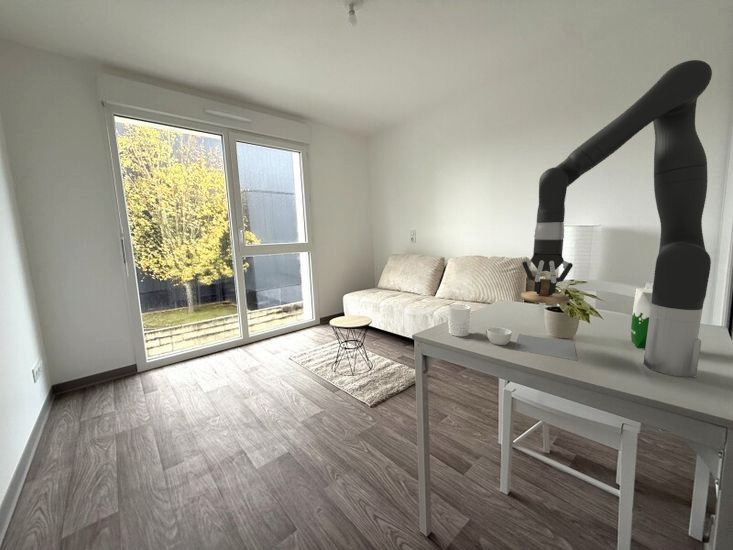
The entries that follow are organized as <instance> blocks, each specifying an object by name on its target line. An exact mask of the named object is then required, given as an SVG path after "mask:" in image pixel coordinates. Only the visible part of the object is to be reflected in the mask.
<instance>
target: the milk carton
mask: <svg viewBox="0 0 733 550" xmlns="http://www.w3.org/2000/svg"><path fill="white" fill-rule="evenodd" d="M652 290H653V288H650V287H649V288H648V287H647V288H643V287H642V288H640V287H636V289H635V295H634V301H633V307H632V315H631V316H632V317H631V324H630V325H631V326H630V333H631V342H632V344H633V345H634V344H635V345H634V346H635V347H636V348H637V349H641V348H645V347H646V340H647V332H648V324H649V317H650V309H651V300H652Z"/></svg>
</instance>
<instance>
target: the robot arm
mask: <svg viewBox="0 0 733 550" xmlns="http://www.w3.org/2000/svg"><path fill="white" fill-rule="evenodd" d="M712 76H713V70H712V67H711V65H710V64H709V63H707V62H705V61H703V60H700V59H699V60H698V59H695V60H694V59H693V60H692V59H691V60H687V61H683V62H681V63H678V64H676V65H674V66H673V67H671V68H670V69H668V70H667V71H666V72H665V73H664V74H662V76H661V77H660V78H659V79H658V80H657V82H655V83H654V84H653V85H652V86H651V87H650V88H649V89H648V90H647V91H646V92H645V93H644V94H643V95H642V96H641V97H640V98H639V99H638V100H637V101H636V102H634V103H633V104H632V105H631V106H629V107H627V109H626V110H625V111H624V112H622V113H621V114H620V115H619V116H618V117H616V118H615V119H614V120H612V121H611V122H610V123H608V124H607V125H606V126H604V127H603V128H602V129H600V130H599V131H597V132H596V133H595V134H593V135H592V136H591V137H589V138H588V139H587V140H585V141H584V142H583V143H582V144H580V145H579V146H578V147H577V148H575V149H574V150H573V151H572V152H571V153H569V155H568V156H567V157H566V158H565V159H563V161H561V162H560V163H559V164H557V165H556V166H555V167H550V168H548V169H546V170H545V171H544V172H542V174H541V175H540V177H539V182H538V205H537V206H538V207H537V213H536V225H535V229H534V235H533V236H534V237H533V238H534V241H533V251H532V253H533V254H532V257H531V259H528V260H524V261H523V262H521V263H522V266H523V270H524V271H525V273H526V276H527V279H528V280H530V281H533V283H534V287H533V291H535V292H537V293H536V294H539V288H540V279H541V275H542V272H547V273H548V272H549V273H550V278H551V279H550V280H551V286H550V295H552V294H553V293H554V294H555V293H556V290H557V289H556V288H557V284H558V283H559V282H561V283H562V282H563V281H564V280H565V278H566V277H567V276H568V274H569V273H570V271H571V270H572V268H573V266H574V265H573V263H572V262H568V261H566V260H564V258H563V250H564V239H565V216H566V215H565V213H566V211H565V210H566V205H565V202H566V196H567V189H568V187H569V186H570V185H572V184H573V183H574V182H576V180H578V179H579V178H580V177H581V176H583V175H584V174H586V173H587V172H590V170H592V169H593V168H595V167H596V166H598V165H599V164H600V163H602V162H603V161H604V160H606V159H608V158H609V157H610V156H611V155H613V154H614V153H615V152H617V150H619V149H621V147H623V146H624V145H625V144H626V143H627V142H628V141H629V140H631V139H632V138H633V137H634V136H635V135H637V134H638V133H639V132H640V131H641V130H643V129H645V128H646V127H647V126H648V125H650V124H651V123H653V130H654V137H655V138H654V139H655V141H654V152H653V189H654V190H653V191H654V197H655V204H656V210H657V213H658V218H659V222H660V241H659V249H658V255H657V257H656V261H655V266H654V267H655V268H654V274H653V275H654V276H653V285H652V289H653V290H652V300H651V309H650V317H649V324H648V332H647V340H646V347H645V349H644V355H643V365H644V366H645V367H646V368H648V369H649V370H653V371H654V372H657V373H661V374H664V375H669V376H675V377H692V376H696V377H697V372H698V366H699V360H700V354H701V347H702V339H700V338H699V335H700V334H699V333H700V328H701V327H700V326H701V321H702V316H703V315H702V313H703V307H704V303H705V300H706V296H707V292H708V291H707V290H708V283H709V278H710V272H711V264H712V259H711V256H710V254H709V252H707V249H706V247H705V240H704V234H703V226H702V224H703V223H702V221H703V214H704V210H705V209H704V208H705V205H706V199H707V193H708V192H707V191H708V182H709V181H708V160H707V155H706V152H705V149H704V146H703V144H702V140H701V139H700V138H699V135H698V132H697V129H696V113H697V112H696V111H697V104H698V103H697V102H698V98H699V97H700V96H701V95H702V94H703V93H704V92H705V91H706V89H707V88H708V86H709V84H710V82H711V81H712V80H711V79H712ZM531 265H534V267H535V268H536V270H537V271H536V274H535V275H533V273H532V270H531V268H530V267H531ZM560 266H562V269H563V271H562V272H561V274H560V275H559V276H558V277H557V276H556V270H557V269H558V268H560Z"/></svg>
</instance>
